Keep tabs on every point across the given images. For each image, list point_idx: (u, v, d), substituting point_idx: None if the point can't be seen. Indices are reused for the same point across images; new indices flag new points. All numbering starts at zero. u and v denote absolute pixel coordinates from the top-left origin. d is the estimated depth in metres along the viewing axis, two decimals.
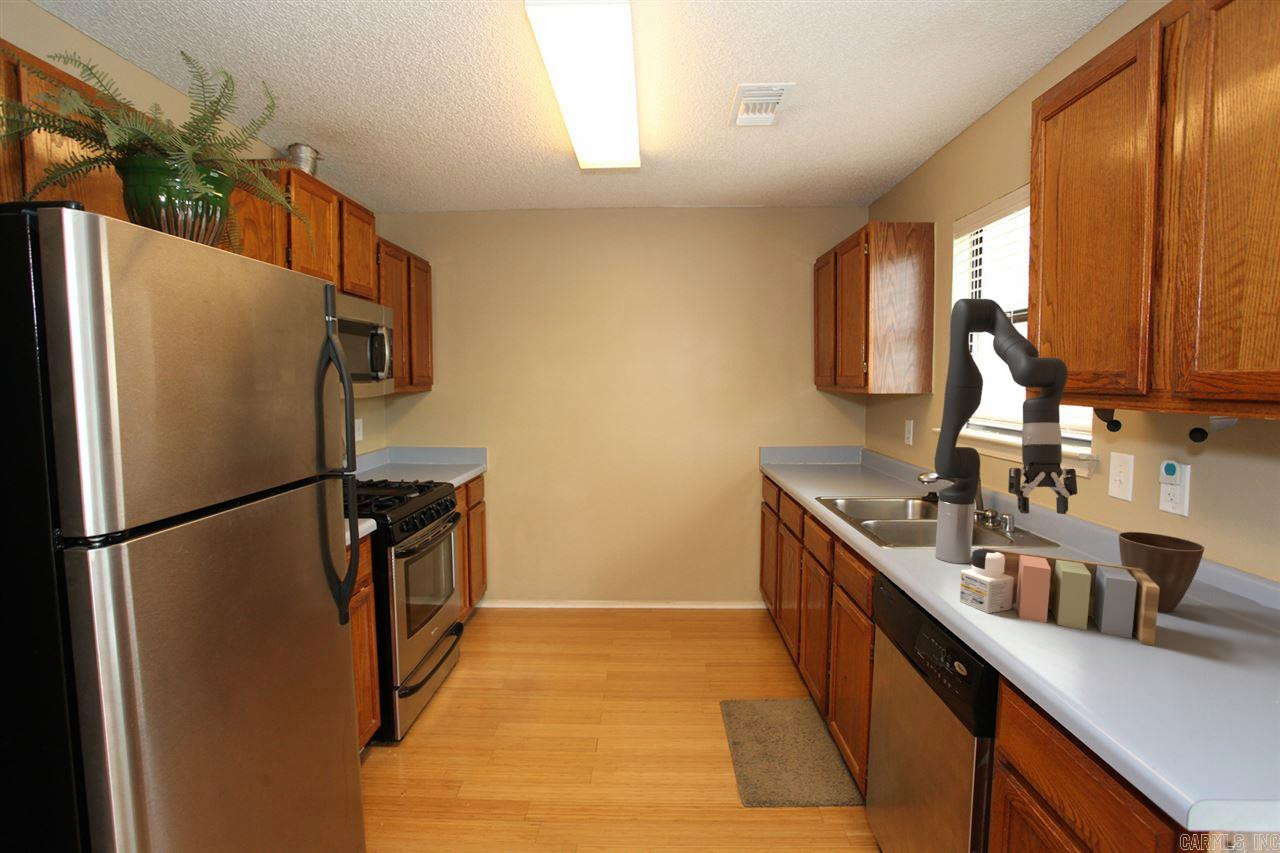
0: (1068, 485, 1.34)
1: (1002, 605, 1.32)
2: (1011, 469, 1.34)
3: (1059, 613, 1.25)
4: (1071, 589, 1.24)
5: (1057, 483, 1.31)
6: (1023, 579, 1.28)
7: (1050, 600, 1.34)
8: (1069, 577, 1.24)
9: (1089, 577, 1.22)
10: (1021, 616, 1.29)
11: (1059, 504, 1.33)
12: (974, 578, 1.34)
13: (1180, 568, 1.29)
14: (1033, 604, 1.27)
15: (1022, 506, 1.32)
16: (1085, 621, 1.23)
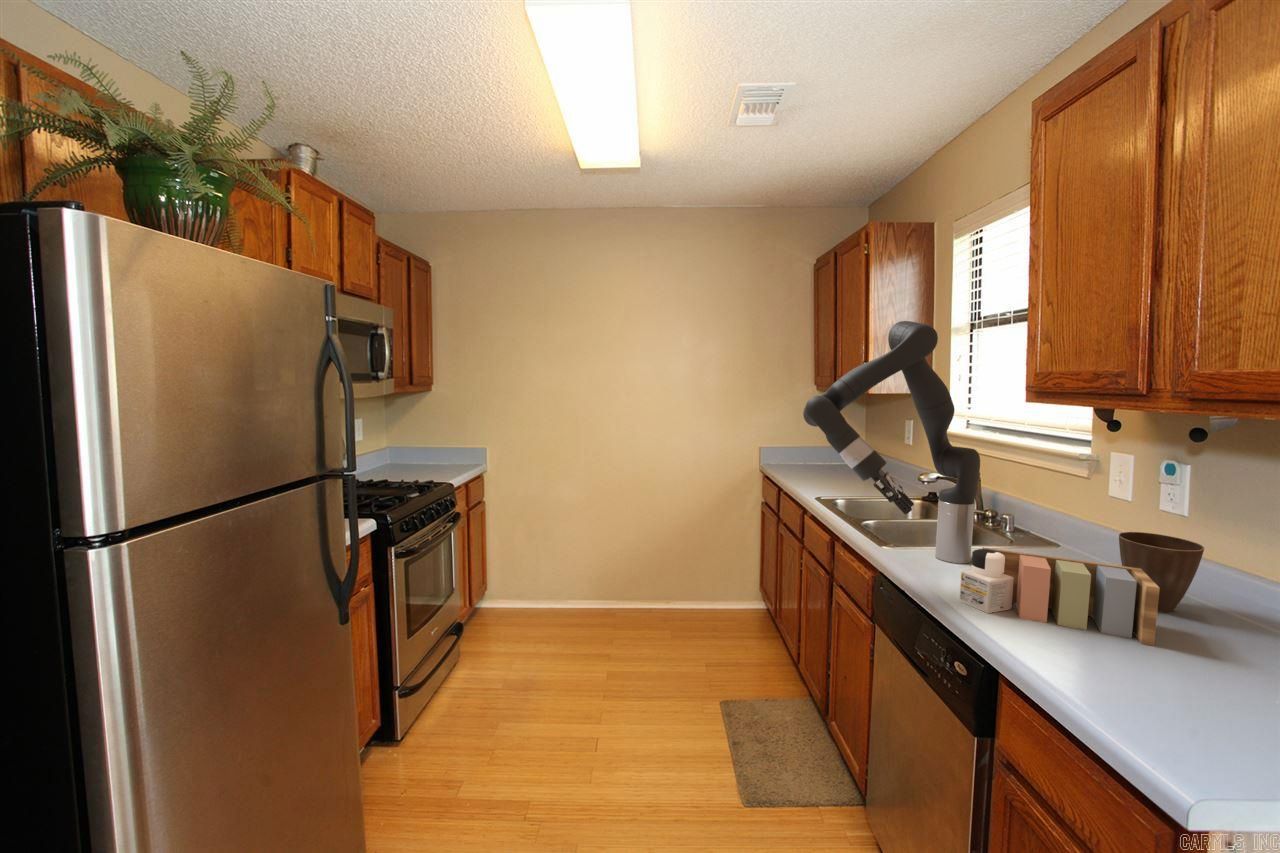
0: None
1: (1002, 605, 1.32)
2: None
3: (1059, 613, 1.25)
4: (1071, 589, 1.24)
5: None
6: (1023, 579, 1.28)
7: (1050, 600, 1.34)
8: (1069, 577, 1.24)
9: (1089, 577, 1.22)
10: (1021, 616, 1.29)
11: None
12: (974, 578, 1.34)
13: (1180, 568, 1.29)
14: (1033, 604, 1.27)
15: None
16: (1085, 621, 1.23)
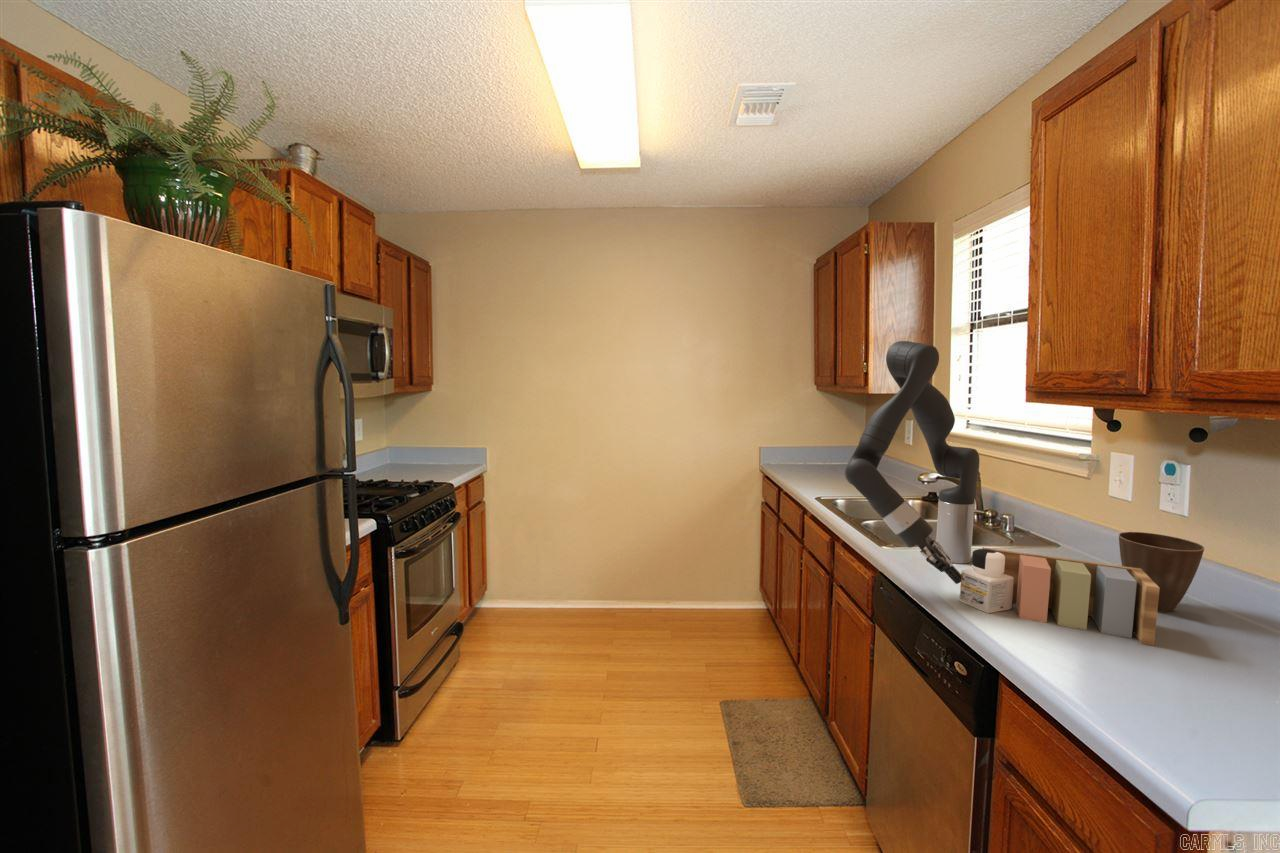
0: None
1: (1002, 605, 1.32)
2: None
3: (1059, 613, 1.25)
4: (1071, 589, 1.24)
5: None
6: (1023, 579, 1.28)
7: (1050, 600, 1.34)
8: (1069, 577, 1.24)
9: (1089, 577, 1.22)
10: (1021, 616, 1.29)
11: None
12: (974, 577, 1.34)
13: (1180, 568, 1.29)
14: (1033, 604, 1.27)
15: None
16: (1085, 621, 1.23)
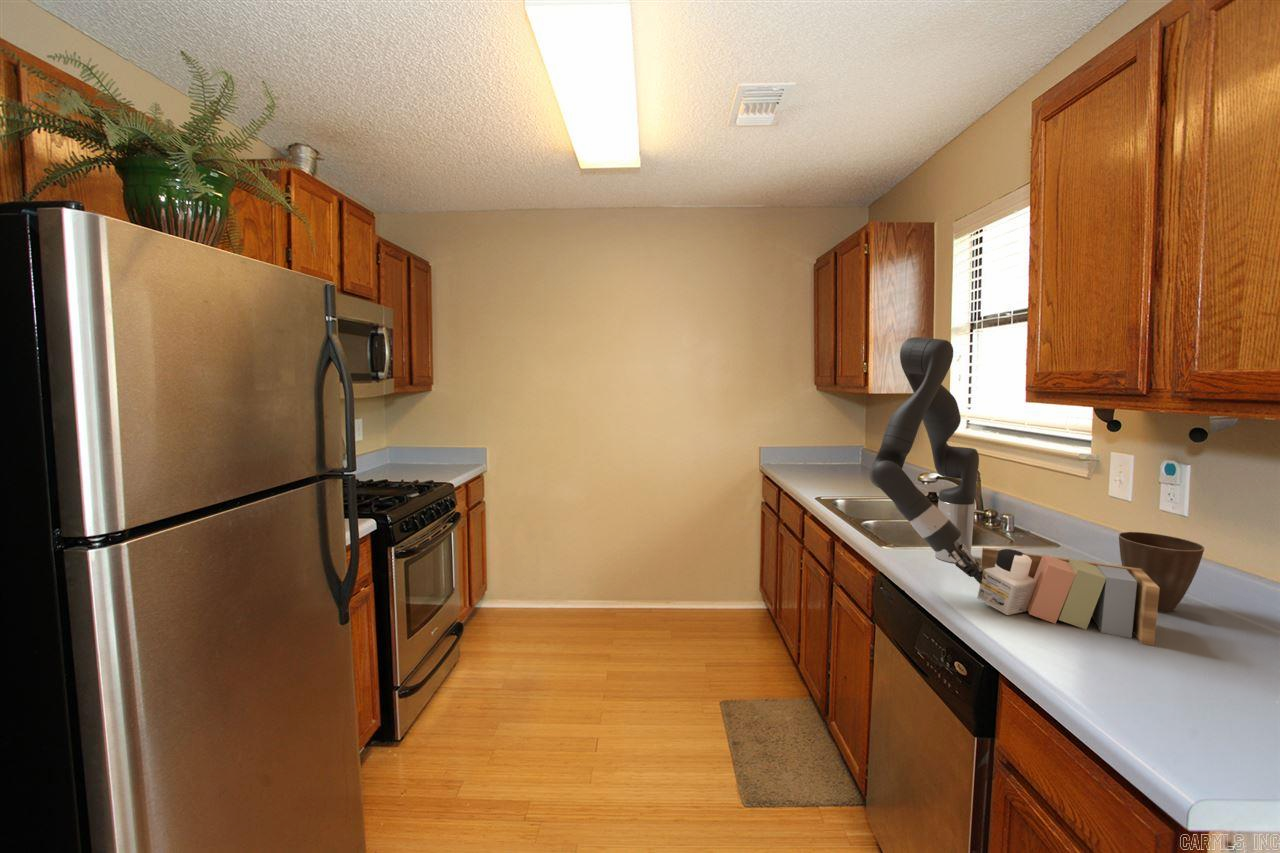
0: None
1: (1021, 607, 1.30)
2: None
3: (1063, 609, 1.25)
4: (1082, 588, 1.23)
5: None
6: (1044, 578, 1.26)
7: None
8: (1083, 577, 1.23)
9: (1103, 580, 1.21)
10: (1031, 613, 1.28)
11: None
12: (998, 578, 1.31)
13: (1180, 568, 1.29)
14: (1047, 603, 1.26)
15: None
16: (1087, 621, 1.23)
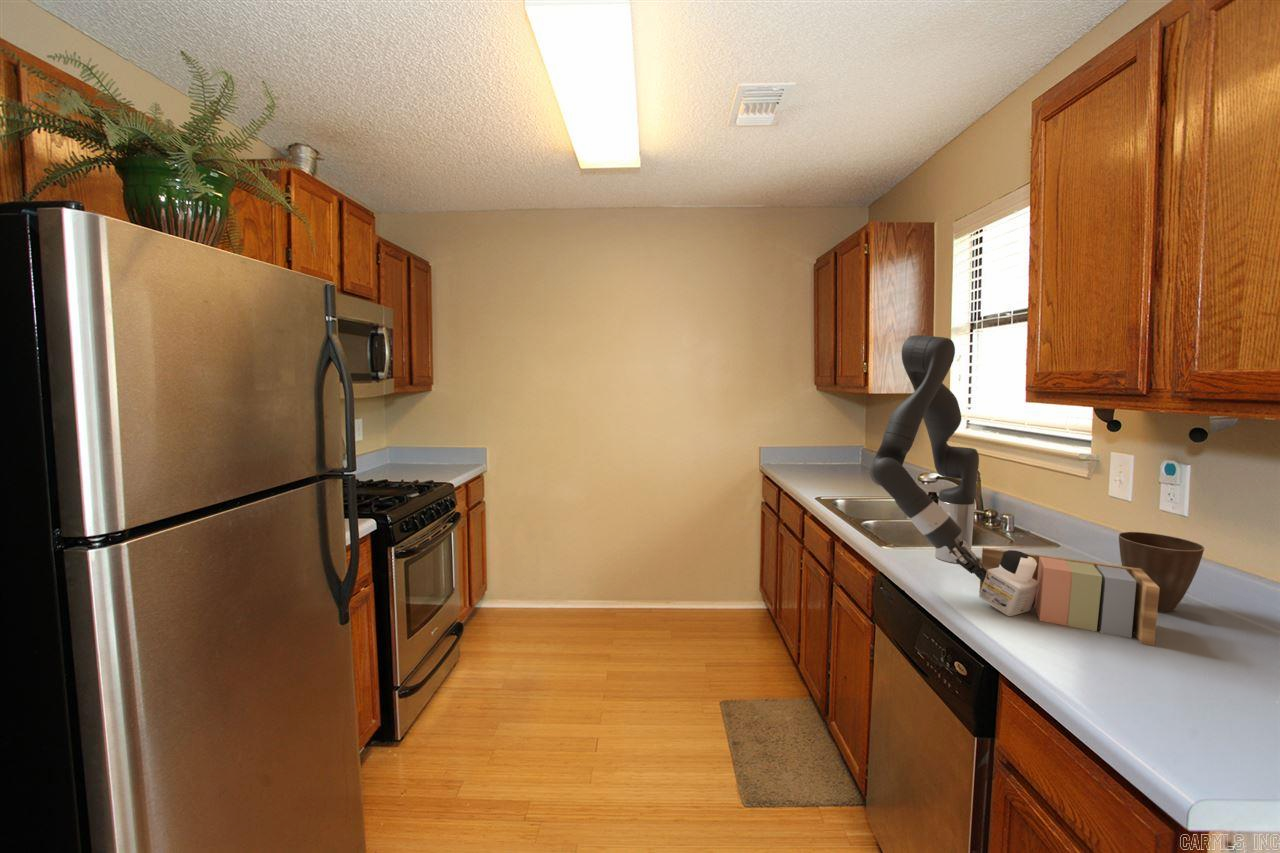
0: None
1: (1023, 608, 1.30)
2: None
3: (1069, 614, 1.25)
4: (1082, 590, 1.23)
5: None
6: (1044, 581, 1.26)
7: None
8: (1080, 578, 1.23)
9: (1100, 578, 1.22)
10: (1041, 619, 1.27)
11: None
12: (1002, 580, 1.30)
13: (1180, 568, 1.29)
14: (1053, 606, 1.26)
15: None
16: (1095, 623, 1.22)
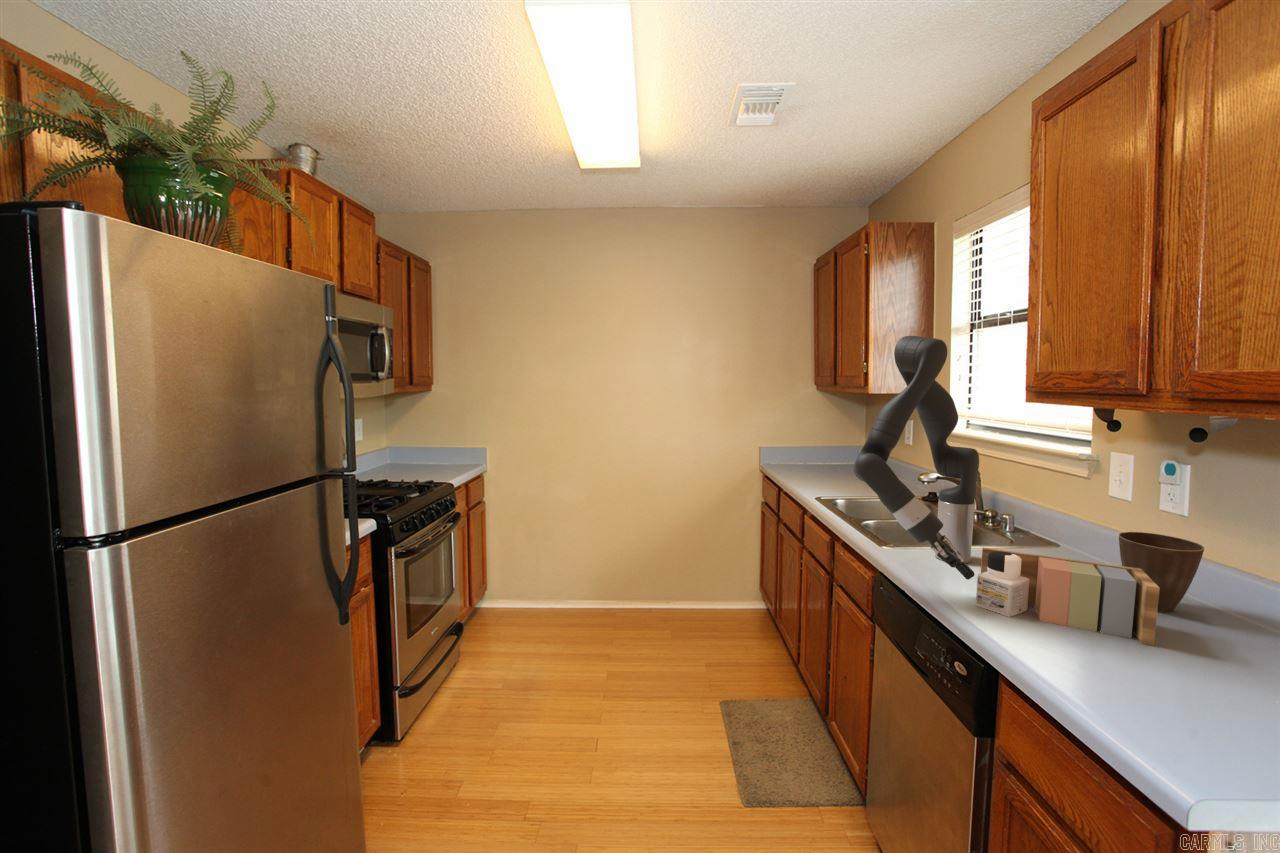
0: None
1: (1020, 607, 1.31)
2: None
3: (1069, 615, 1.25)
4: (1081, 590, 1.23)
5: None
6: (1043, 582, 1.27)
7: None
8: (1079, 578, 1.23)
9: (1099, 578, 1.22)
10: (1041, 619, 1.27)
11: None
12: (993, 581, 1.31)
13: (1180, 568, 1.29)
14: (1053, 607, 1.26)
15: None
16: (1095, 623, 1.22)
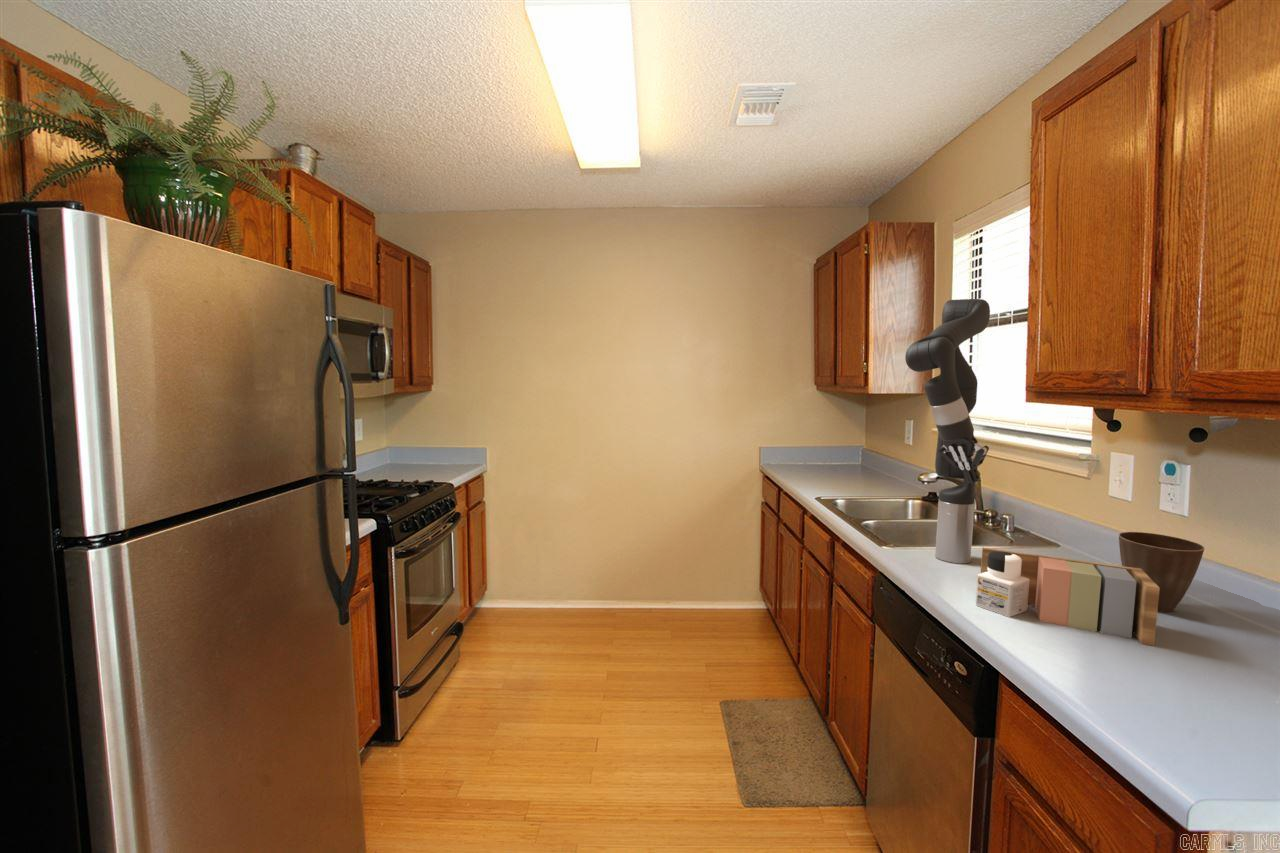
0: None
1: (1020, 607, 1.31)
2: None
3: (1069, 615, 1.25)
4: (1081, 590, 1.23)
5: (961, 455, 1.40)
6: (1043, 582, 1.27)
7: None
8: (1079, 578, 1.23)
9: (1099, 578, 1.22)
10: (1041, 619, 1.27)
11: None
12: (993, 581, 1.31)
13: (1180, 568, 1.29)
14: (1053, 607, 1.26)
15: (965, 476, 1.43)
16: (1095, 623, 1.22)
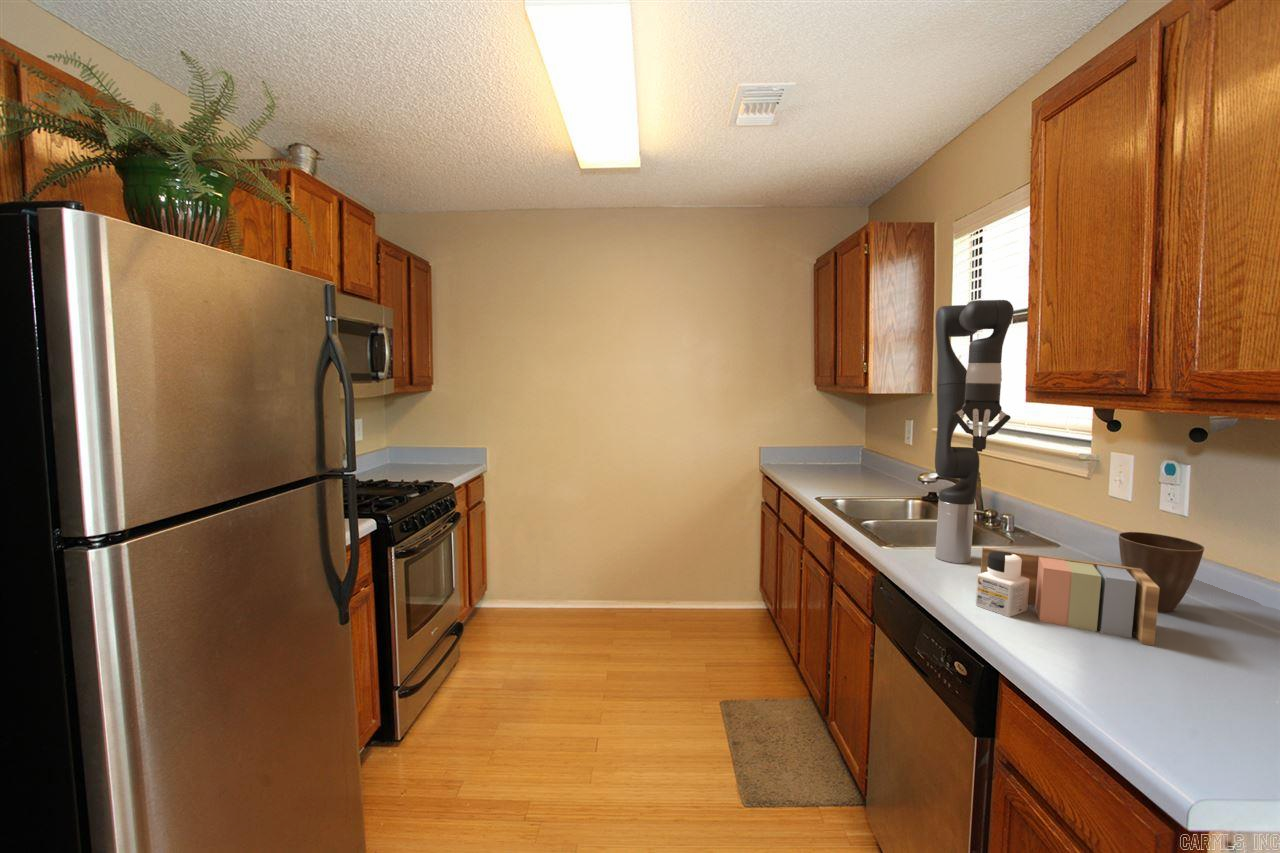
0: None
1: (1020, 607, 1.31)
2: None
3: (1069, 615, 1.25)
4: (1081, 590, 1.23)
5: (984, 420, 1.42)
6: (1043, 582, 1.27)
7: None
8: (1079, 578, 1.23)
9: (1099, 578, 1.22)
10: (1041, 619, 1.27)
11: (979, 442, 1.44)
12: (993, 581, 1.31)
13: (1180, 568, 1.29)
14: (1053, 607, 1.26)
15: (973, 444, 1.44)
16: (1095, 623, 1.22)
